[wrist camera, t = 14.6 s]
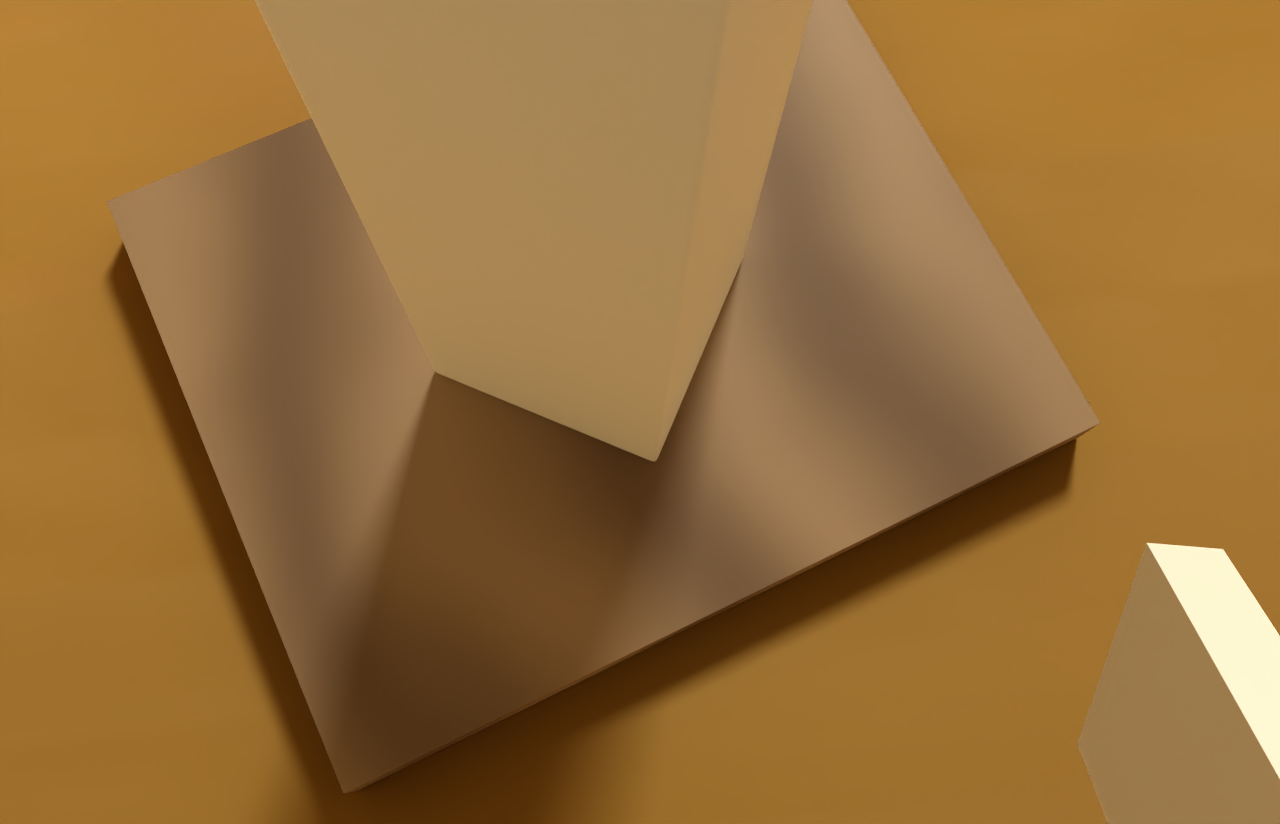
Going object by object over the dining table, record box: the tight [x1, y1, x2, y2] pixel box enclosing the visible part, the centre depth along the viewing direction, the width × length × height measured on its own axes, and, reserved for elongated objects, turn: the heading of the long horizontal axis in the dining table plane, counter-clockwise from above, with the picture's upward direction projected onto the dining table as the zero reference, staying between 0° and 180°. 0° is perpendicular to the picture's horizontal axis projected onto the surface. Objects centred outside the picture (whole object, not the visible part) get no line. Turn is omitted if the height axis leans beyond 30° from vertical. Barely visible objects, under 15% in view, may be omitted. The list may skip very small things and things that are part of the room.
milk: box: [255, 0, 813, 461], centre depth 19 cm, size 6×6×22 cm
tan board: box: [107, 0, 1100, 794], centre depth 30 cm, size 20×16×2 cm
